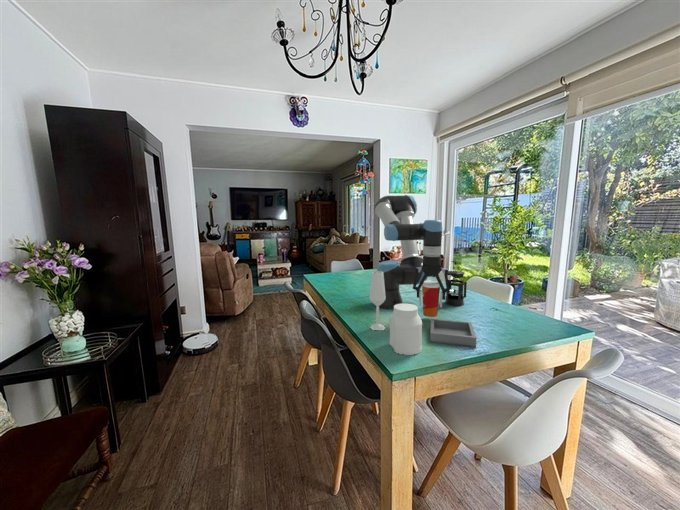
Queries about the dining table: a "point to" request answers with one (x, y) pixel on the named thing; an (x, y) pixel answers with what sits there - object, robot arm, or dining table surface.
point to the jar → (406, 329)
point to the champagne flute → (377, 295)
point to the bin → (452, 332)
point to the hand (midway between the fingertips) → (430, 305)
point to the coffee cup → (430, 298)
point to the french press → (454, 298)
